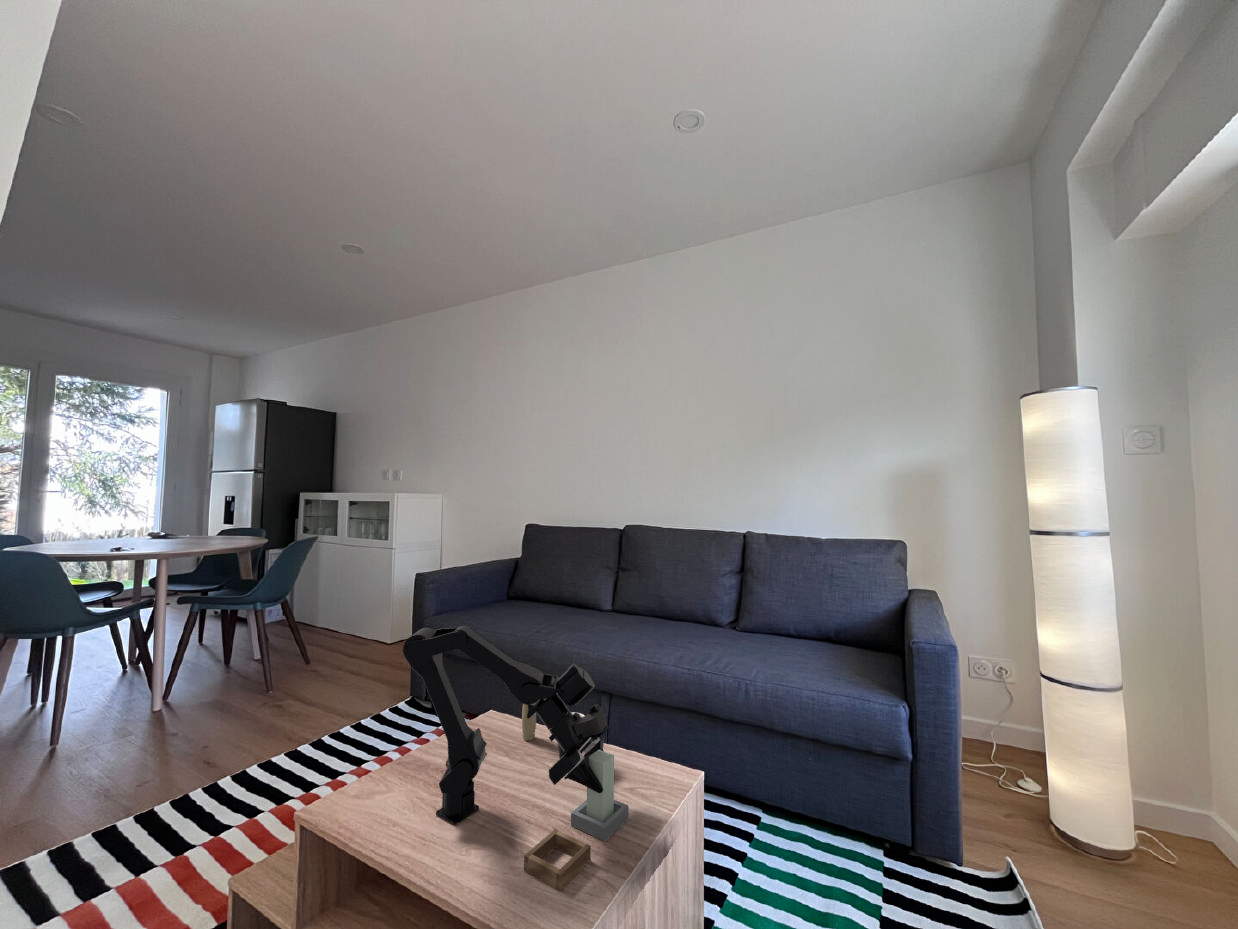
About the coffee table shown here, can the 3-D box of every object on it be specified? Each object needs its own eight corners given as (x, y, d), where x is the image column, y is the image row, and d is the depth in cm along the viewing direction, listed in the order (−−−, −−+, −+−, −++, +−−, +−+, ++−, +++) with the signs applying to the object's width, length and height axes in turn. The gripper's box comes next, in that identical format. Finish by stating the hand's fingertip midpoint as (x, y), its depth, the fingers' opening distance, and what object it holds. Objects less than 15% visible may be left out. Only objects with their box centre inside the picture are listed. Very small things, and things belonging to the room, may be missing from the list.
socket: (570, 825, 99) (571, 813, 99) (595, 804, 106) (595, 792, 106) (605, 841, 94) (605, 828, 94) (628, 818, 101) (628, 805, 101)
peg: (586, 819, 99) (587, 757, 100) (597, 809, 103) (598, 749, 104) (602, 826, 97) (603, 763, 98) (613, 816, 101) (614, 755, 102)
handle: (531, 745, 131) (532, 688, 132) (514, 739, 135) (515, 683, 136) (543, 738, 135) (544, 682, 137) (526, 732, 139) (527, 678, 140)
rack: (523, 870, 87) (524, 855, 87) (555, 842, 94) (555, 829, 94) (560, 891, 82) (560, 875, 82) (590, 860, 89) (590, 846, 89)
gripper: (563, 715, 94) (615, 787, 90) (601, 682, 112) (646, 741, 107) (527, 749, 97) (576, 821, 92) (570, 712, 114) (613, 771, 109)
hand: (606, 785), depth 100 cm, fingers closed on peg, 5 cm apart
